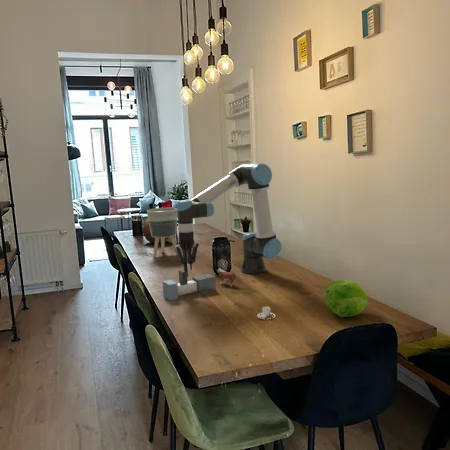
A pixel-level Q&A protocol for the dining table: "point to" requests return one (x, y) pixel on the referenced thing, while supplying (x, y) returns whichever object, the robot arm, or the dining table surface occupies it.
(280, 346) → the dining table surface
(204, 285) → the grey rectangular block
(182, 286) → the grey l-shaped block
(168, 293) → the blue-grey block
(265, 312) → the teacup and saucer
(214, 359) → the dining table surface
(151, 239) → the pottery
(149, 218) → the planter
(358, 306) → the lettuce
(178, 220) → the robot arm
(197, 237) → the dining table surface
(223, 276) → the bull figurine
